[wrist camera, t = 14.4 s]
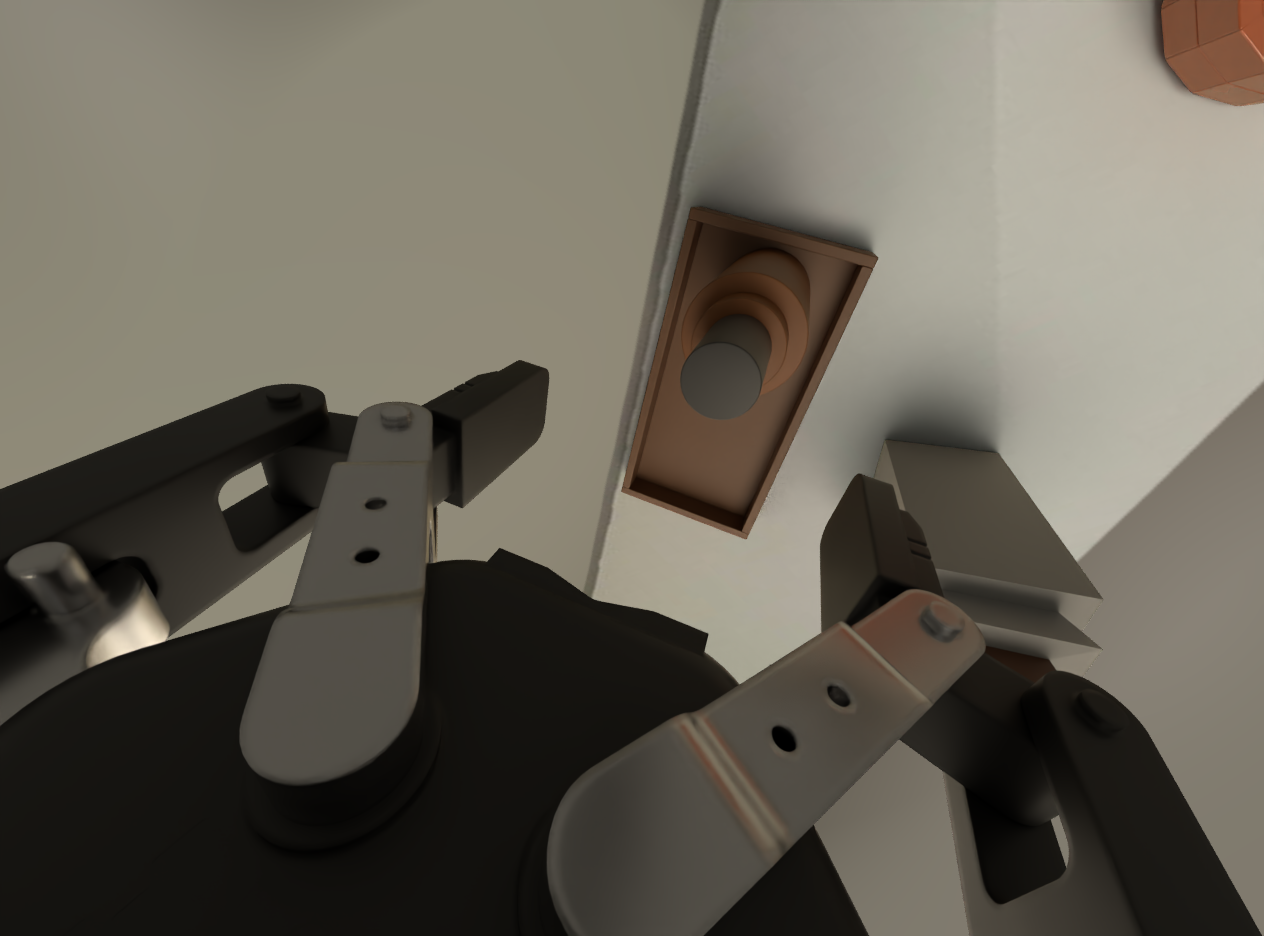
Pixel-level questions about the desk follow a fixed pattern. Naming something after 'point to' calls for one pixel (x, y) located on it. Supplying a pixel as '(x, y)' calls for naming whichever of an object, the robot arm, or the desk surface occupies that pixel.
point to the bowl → (1217, 47)
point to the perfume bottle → (996, 556)
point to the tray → (760, 438)
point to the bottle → (745, 333)
